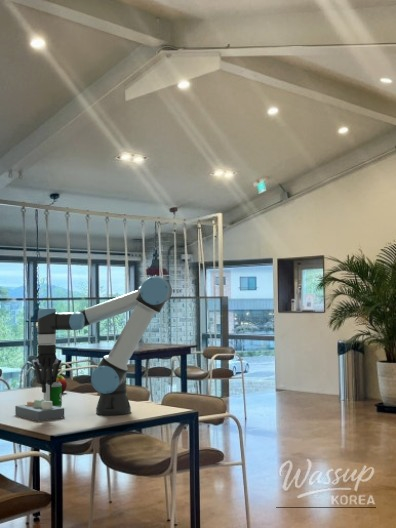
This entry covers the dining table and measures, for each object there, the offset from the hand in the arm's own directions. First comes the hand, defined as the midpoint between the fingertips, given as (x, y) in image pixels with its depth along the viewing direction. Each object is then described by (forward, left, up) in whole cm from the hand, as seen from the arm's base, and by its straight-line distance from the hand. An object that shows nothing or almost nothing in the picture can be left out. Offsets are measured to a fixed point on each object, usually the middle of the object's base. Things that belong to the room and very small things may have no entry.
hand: (46, 400), depth 278 cm
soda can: (+23, -15, -8) cm, 29 cm away
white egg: (0, 0, -6) cm, 6 cm away
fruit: (+71, -42, -8) cm, 83 cm away
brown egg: (+14, 0, -7) cm, 16 cm away
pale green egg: (+7, 0, -6) cm, 9 cm away
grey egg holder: (+7, 0, -8) cm, 10 cm away
